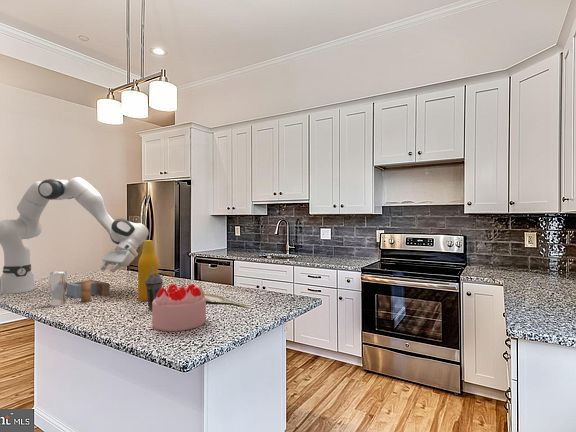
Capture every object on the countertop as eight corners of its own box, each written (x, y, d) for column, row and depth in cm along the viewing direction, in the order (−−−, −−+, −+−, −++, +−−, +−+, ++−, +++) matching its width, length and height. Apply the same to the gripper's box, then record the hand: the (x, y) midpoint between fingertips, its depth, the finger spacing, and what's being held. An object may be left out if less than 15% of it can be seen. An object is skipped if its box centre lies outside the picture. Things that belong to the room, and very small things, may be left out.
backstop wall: (84, 291, 187) (84, 280, 187) (90, 290, 190) (90, 279, 190) (103, 296, 176) (103, 284, 176) (109, 295, 179) (109, 283, 179)
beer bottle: (158, 300, 168) (158, 240, 168) (137, 302, 165) (137, 241, 164) (158, 296, 176) (158, 239, 176) (138, 297, 173) (138, 240, 173)
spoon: (262, 309, 158) (262, 305, 158) (248, 315, 149) (248, 310, 149) (206, 295, 176) (206, 291, 176) (190, 300, 167) (191, 295, 167)
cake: (216, 320, 136) (216, 284, 136) (177, 336, 119) (177, 294, 119) (180, 313, 146) (180, 280, 146) (139, 326, 129) (139, 288, 129)
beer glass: (58, 307, 155) (58, 273, 155) (45, 306, 157) (45, 273, 157) (71, 303, 162) (71, 271, 162) (58, 302, 164) (58, 270, 163)
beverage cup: (166, 307, 155) (166, 263, 155) (155, 311, 148) (155, 265, 148) (153, 306, 158) (153, 262, 157) (141, 310, 151) (141, 264, 151)
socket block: (66, 295, 177) (66, 283, 177) (87, 291, 186) (87, 280, 186) (76, 297, 172) (76, 285, 172) (96, 294, 180) (96, 282, 180)
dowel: (79, 301, 165) (79, 281, 165) (88, 300, 168) (88, 279, 168) (83, 303, 162) (83, 282, 162) (92, 301, 166) (92, 280, 166)
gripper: (110, 244, 186) (91, 264, 178) (132, 246, 174) (113, 268, 166) (118, 252, 189) (100, 272, 181) (140, 254, 178) (122, 276, 170)
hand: (106, 270), depth 174 cm, fingers open, 8 cm apart
